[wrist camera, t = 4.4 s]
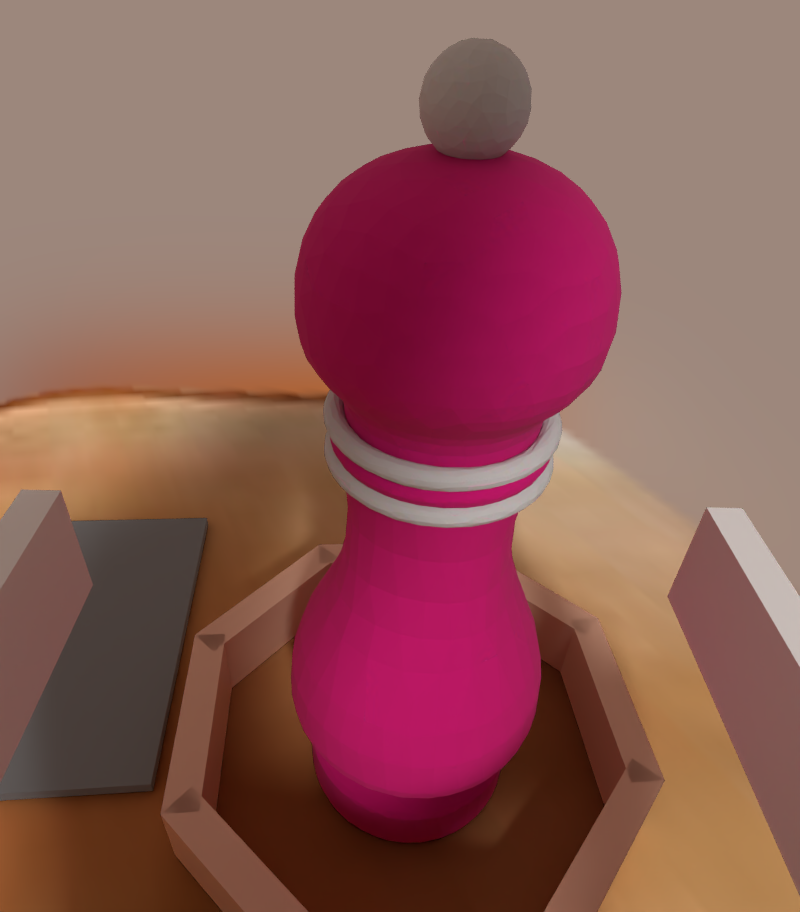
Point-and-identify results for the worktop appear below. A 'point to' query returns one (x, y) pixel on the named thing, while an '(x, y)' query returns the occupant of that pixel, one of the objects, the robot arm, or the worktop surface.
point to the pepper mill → (440, 443)
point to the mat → (113, 664)
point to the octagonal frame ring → (276, 622)
